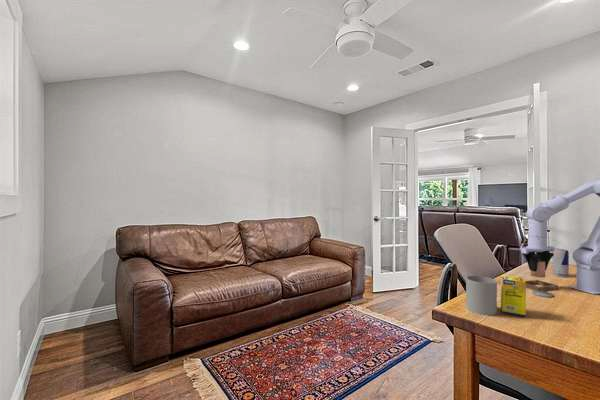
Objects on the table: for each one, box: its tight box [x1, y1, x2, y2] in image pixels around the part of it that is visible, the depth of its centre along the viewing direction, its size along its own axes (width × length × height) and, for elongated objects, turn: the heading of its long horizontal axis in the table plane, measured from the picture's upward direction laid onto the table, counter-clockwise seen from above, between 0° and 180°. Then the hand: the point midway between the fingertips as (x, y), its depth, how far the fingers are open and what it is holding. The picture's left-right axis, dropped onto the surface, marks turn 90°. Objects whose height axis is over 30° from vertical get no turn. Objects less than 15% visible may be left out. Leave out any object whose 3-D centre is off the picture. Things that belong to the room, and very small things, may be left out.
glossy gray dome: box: [531, 290, 555, 298], centre depth 105 cm, size 6×6×1 cm
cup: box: [465, 275, 498, 316], centre depth 92 cm, size 8×8×10 cm
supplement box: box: [500, 274, 527, 318], centre depth 90 cm, size 6×6×11 cm
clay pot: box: [530, 260, 546, 279], centre depth 114 cm, size 4×4×6 cm
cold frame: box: [525, 279, 559, 292], centre depth 114 cm, size 10×8×2 cm
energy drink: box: [552, 248, 570, 278], centre depth 130 cm, size 5×5×12 cm
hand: (537, 270), depth 114 cm, fingers closed on clay pot, 4 cm apart
